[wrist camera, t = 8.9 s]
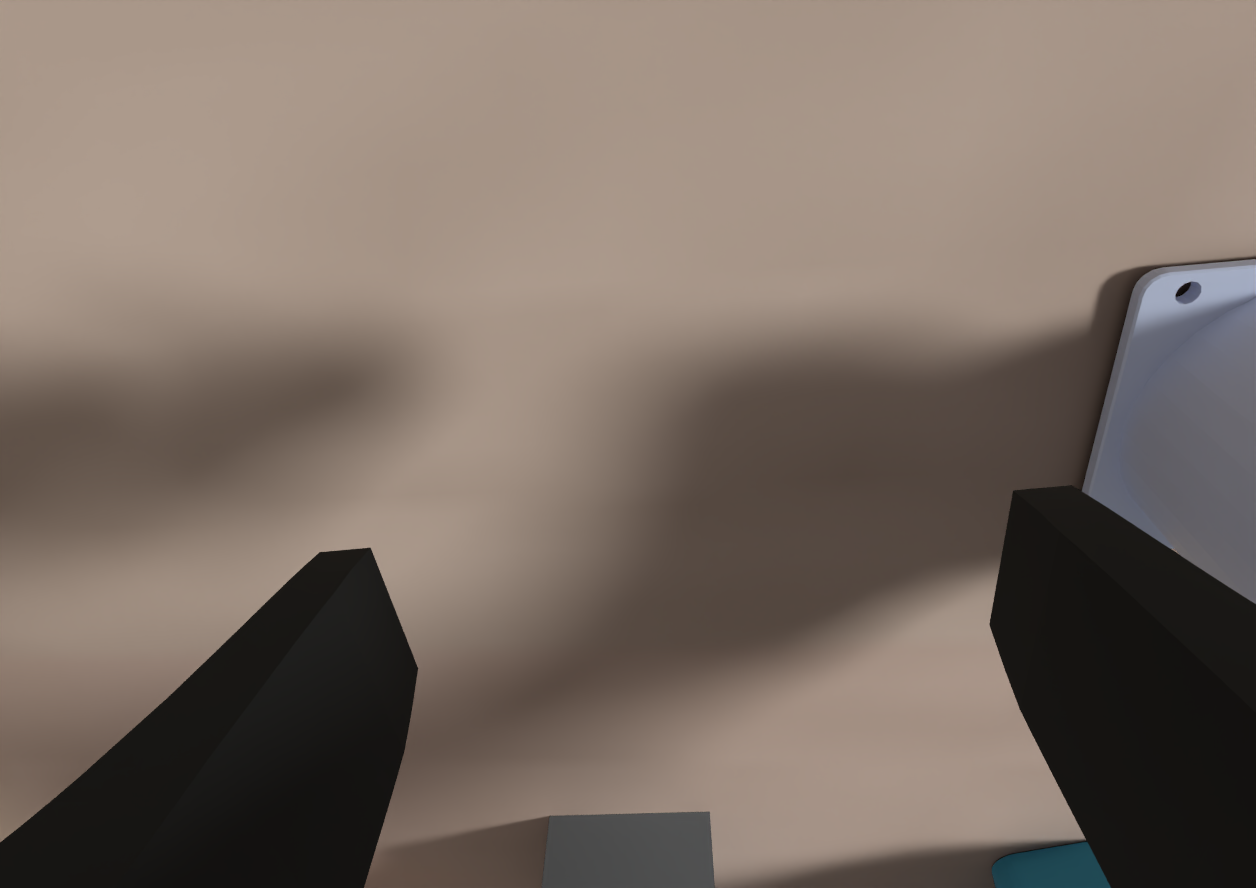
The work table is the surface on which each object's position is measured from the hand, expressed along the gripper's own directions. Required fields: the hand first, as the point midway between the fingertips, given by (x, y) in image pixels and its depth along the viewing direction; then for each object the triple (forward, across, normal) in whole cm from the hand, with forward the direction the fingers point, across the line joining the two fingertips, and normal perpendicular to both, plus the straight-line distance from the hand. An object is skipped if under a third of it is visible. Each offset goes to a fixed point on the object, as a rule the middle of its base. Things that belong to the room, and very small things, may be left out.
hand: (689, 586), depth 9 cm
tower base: (+10, +4, +24) cm, 27 cm away
